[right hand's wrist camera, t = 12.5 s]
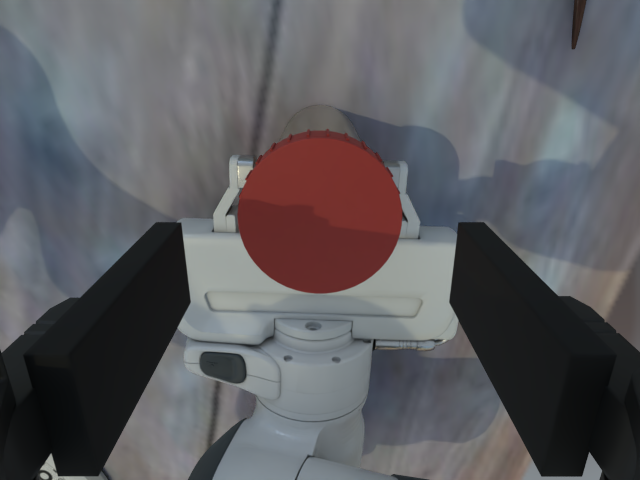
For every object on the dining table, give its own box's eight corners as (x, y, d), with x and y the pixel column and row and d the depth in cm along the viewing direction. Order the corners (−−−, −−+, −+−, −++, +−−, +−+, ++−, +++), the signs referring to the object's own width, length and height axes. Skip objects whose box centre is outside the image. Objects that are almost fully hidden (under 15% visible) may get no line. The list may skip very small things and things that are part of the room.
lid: (395, 121, 18) (403, 128, 16) (398, 269, 21) (405, 289, 19) (232, 134, 18) (223, 143, 17) (254, 280, 21) (248, 301, 19)
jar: (355, 101, 33) (388, 141, 17) (359, 177, 35) (391, 275, 19) (278, 108, 33) (240, 153, 17) (286, 183, 35) (259, 285, 19)
